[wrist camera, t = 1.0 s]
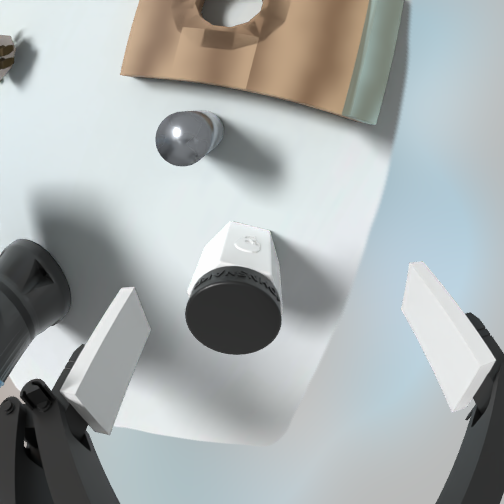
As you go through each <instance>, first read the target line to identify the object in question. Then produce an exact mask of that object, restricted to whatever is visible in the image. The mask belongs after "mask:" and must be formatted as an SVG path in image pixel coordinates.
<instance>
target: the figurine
mask: <svg viewBox="0 0 504 504" xmlns="http://www.w3.org/2000/svg"><path fill="white" fill-rule="evenodd" d="M15 51H16V48H15V46H14V43H13V41H12V38H11V36H6V35H0V80H1V79H2V78H3V77H4V76H5V74H6V73H7V72H8V71H9V70H10V69H11V67H12V64H13V63H14V55H15Z"/></svg>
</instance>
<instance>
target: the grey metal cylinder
mask: <svg viewBox="0 0 504 504" xmlns="http://www.w3.org/2000/svg"><path fill="white" fill-rule="evenodd" d="M223 134H224V127H223V124H222V121H221V120H220V118H219V117H218V116H217V115H215V114H214V113H212V112H210V111H185V112H176V113H173V114H171V115H169V116H168V117H166V118H165V119H164V120H163V121H162V122H161V124H160V125H159V127H158V129H157V133H156V146H157V149H158V152H159V153H160V155H161V156H162V157H163V158H164V159H165V160H166V161H167V162H169V163H170V164H173V165H176V166H189V165H192V164H194V163H196V162H198V161H199V160H200V159H201V158H203V157H204V156H205V155H206V154H208V153H209V152H210V151H211V150H213V149H214V148H215V147H216V146H217V145H218V144H219V143H220V142H221V140H222V138H223Z"/></svg>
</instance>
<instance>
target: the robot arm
mask: <svg viewBox="0 0 504 504" xmlns="http://www.w3.org/2000/svg"><path fill="white" fill-rule="evenodd" d="M70 303H71V296H70V290H69V286H68V283H67V281H66V278H65V276H64V274H63V272H62V271H61V269H60V267H59V266H58V264H57V263H56V262H55V260H54V259H53V258H52V257H51V256H50V254H49V253H48V252H47V251H45V250H44V249H43V248H42V247H40V246H39V245H38V244H36V243H34V242H32V241H29V240H25V239H19V240H16V241H14V242H13V243H11V244H10V245H9V246H7V247H6V248H5V249H4V250H3V251H2V253H1V255H0V387H1V386H3V385H4V382H5V380H6V379H7V377H8V376H9V374H10V373H11V371H12V369H13V368H14V366H15V365H16V363H17V362H18V360H19V359H20V357H21V356H22V354H23V353H24V352H25V350H26V349H27V347H28V346H29V344H30V343H31V342H32V340H33V339H34V338H35V336H37V335H38V334H40V333H42V332H43V331H44V330H46V329H47V328H48V327H50V326H53V325H55V324H57V323H59V322H60V321H61V320H62V318H63V317H64V316H65V315H66V313H67V312H68V310H69V308H70ZM401 310H402V312H403V314H404V315H405V317H406V319H407V321H408V323H409V324H410V326H411V328H412V330H413V332H414V334H415V336H416V338H417V339H418V341H419V344H420V345H421V347H422V349H423V351H424V353H425V355H426V357H427V359H428V361H429V363H430V365H431V368H432V369H433V372H434V374H435V376H436V378H437V380H438V382H439V384H440V387H441V389H442V391H443V393H444V396H445V398H446V400H447V402H448V405H449V407H450V409H451V412H455V411H458V410H460V409H463V408H465V407H467V406H468V405H469V403H470V402H471V400H472V399H474V401H475V403H476V405H475V406H474V408H473V409H472V410H471V412H470V413H469V414H468V416H467V418H466V419H465V420H468V419H469V418H470V417H471V418H470V421H469V424H468V427H467V431H466V434H465V437H464V439H463V442H462V445H461V448H460V450H459V453H458V456H457V458H456V460H455V463H454V466H453V468H452V470H451V472H450V475H449V477H448V479H447V481H446V484H445V486H444V488H443V490H442V492H441V494H440V496H439V498H438V500H437V502H436V504H500V501H501V499H502V495H503V493H504V354H503V352H502V350H501V349H500V347H499V346H498V344H497V343H496V342H495V340H494V339H493V337H492V336H490V333H489V332H488V330H487V329H485V326H484V325H483V323H482V322H481V321H480V319H479V318H477V317H476V316H474V315H473V314H472V313H467V314H464V312H463V311H462V310H461V308H460V307H459V306H458V305H457V303H456V302H455V300H454V299H453V298H452V296H451V295H450V294H449V293H448V291H447V290H446V289H445V288H444V286H443V285H442V284H441V283H440V281H439V280H438V279H437V278H436V277H435V275H434V274H433V273H432V272H431V270H430V269H429V268H428V267H427V266H426V264H425V263H424V262H423V261H421V262H413V263H409V269H408V275H407V281H406V286H405V292H404V297H403V302H402V307H401ZM150 331H151V328H150V326H149V323H148V321H147V318H146V316H145V313H144V311H143V308H142V305H141V303H140V300H139V298H138V295H137V292H136V290H135V287H126V288H121V289H120V291H119V292H118V294H117V295H116V297H115V298H114V300H113V301H112V303H111V304H110V306H109V308H108V309H107V311H106V312H105V314H104V315H103V317H102V319H101V320H100V322H99V323H98V325H97V327H96V328H95V330H94V332H93V333H92V335H91V337H90V338H89V340H88V342H87V343H86V345H84V344H82V345H81V346H80V347H79V348H77V349H76V350H75V351H74V353H73V354H72V356H71V358H70V359H69V362H68V363H67V364H66V366H65V369H64V370H63V371H62V373H61V375H60V377H59V378H58V380H57V382H56V384H55V386H54V387H53V389H52V391H51V390H50V389H49V388H48V386H47V385H46V384H45V382H44V381H42V380H41V379H34V380H31V381H29V382H28V383H26V384H25V386H24V387H23V388H22V390H21V393H20V398H21V399H22V400H23V401H24V402H25V403H26V404H22V403H21V402H20V401H19V399H17V398H16V397H8V398H6V399H5V400H4V401H3V402H2V404H1V405H0V504H120V503H119V501H118V499H117V497H116V495H115V493H114V491H113V489H112V487H111V485H110V483H109V481H108V478H107V476H106V474H105V472H104V470H103V468H102V465H101V463H100V461H99V458H98V456H97V454H96V451H95V449H94V446H93V443H92V441H91V438H90V436H89V434H88V432H87V431H86V428H87V426H88V425H89V426H90V427H91V428H92V429H93V430H94V431H95V432H98V433H103V434H107V435H110V433H111V431H112V427H113V425H114V422H115V420H116V417H117V414H118V411H119V409H120V406H121V403H122V401H123V398H124V395H125V393H126V390H127V388H128V385H129V383H130V380H131V377H132V375H133V372H134V370H135V367H136V365H137V363H138V360H139V358H140V355H141V353H142V350H143V348H144V346H145V343H146V341H147V338H148V336H149V334H150ZM24 441H25V442H27V447H26V448H25V447H24Z"/></svg>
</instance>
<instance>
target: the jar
mask: <svg viewBox="0 0 504 504" xmlns="http://www.w3.org/2000/svg"><path fill="white" fill-rule="evenodd" d="M187 293H188V295H189V297H190V298H189V300H188V303H187V306H186V311H185V317H186V322H187V325H188V328H189V330H190V331H191V333H192V334H193V335H194V337H195V338H196V339H197V340H198V341H199V342H201V343H202V344H203V345H205V346H207V347H208V348H210V349H213V350H215V351H218V352H221V353H226V354H234V355H240V354H248V353H253V352H256V351H258V350H261V349H263V348H264V347H266V346H267V345H269V344H270V343H271V342H272V341H273V340H274V339H275V338H276V336H277V335H278V333H279V330H280V327H281V315H282V314H283V303H282V289H281V276H280V264H279V260H278V257H277V253H276V250H275V246H274V242H273V239H272V235H271V232H270V231H269V230H266V229H262V228H258V227H254V226H250V225H246V224H242V223H238V222H233V221H230V222H229V223H228V224H227V225H226V226H225V227H224V228H223V229H222V230H221V231H220V232H219V233H218V234H217V235H216V236H215V237H214V238H213V239H212V240H211V241H210V242H209V243H208V244H207V245H206V246H205V247H204V250H203V252H202V255H201V257H200V260H199V262H198V265H197V267H196V270H195V272H194V275H193V277H192V280H191V282H190V285H189V288H188V290H187Z"/></svg>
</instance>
